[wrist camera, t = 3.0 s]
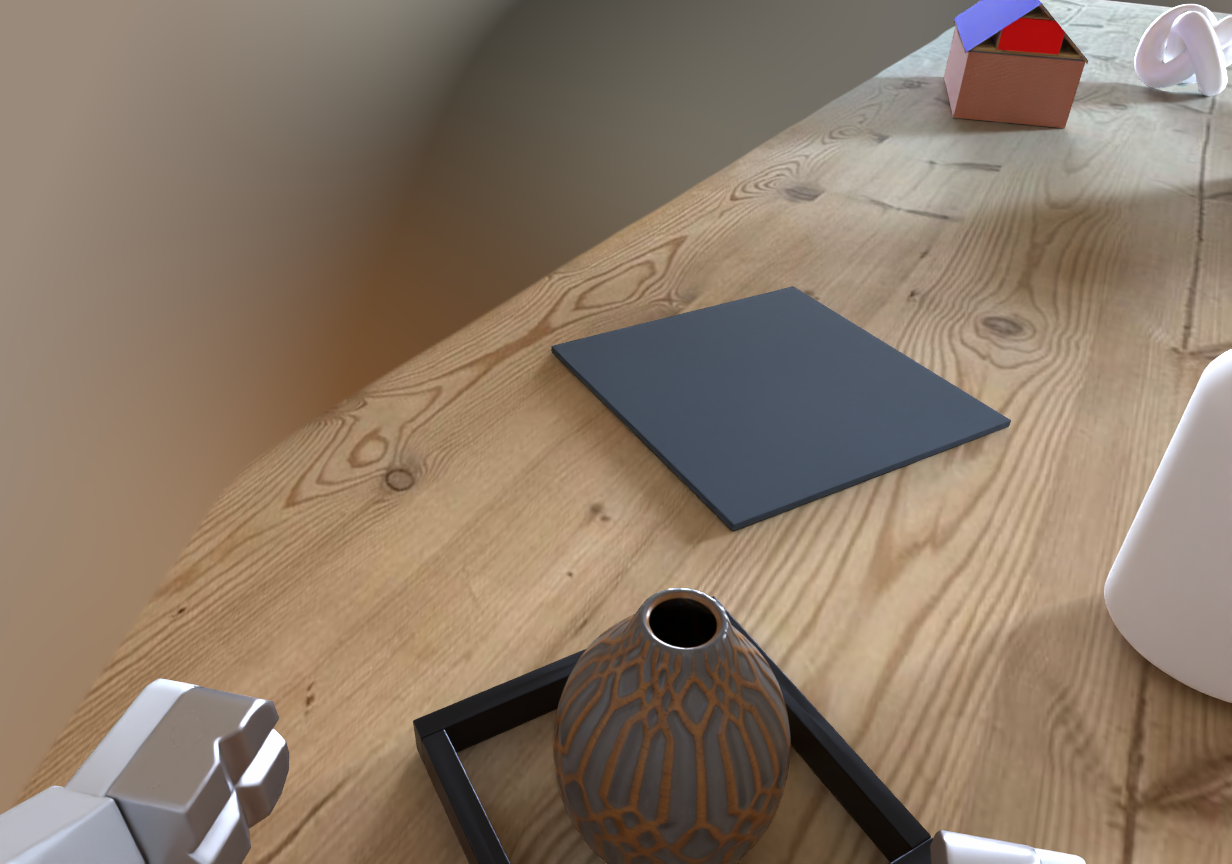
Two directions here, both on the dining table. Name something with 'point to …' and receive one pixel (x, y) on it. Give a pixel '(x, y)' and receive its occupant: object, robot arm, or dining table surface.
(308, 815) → the dining table surface
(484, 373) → the dining table surface
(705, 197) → the dining table surface
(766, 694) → the vase
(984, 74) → the house
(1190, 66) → the white knot sculpture
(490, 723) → the black open square frame
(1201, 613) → the beverage can
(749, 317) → the mat
